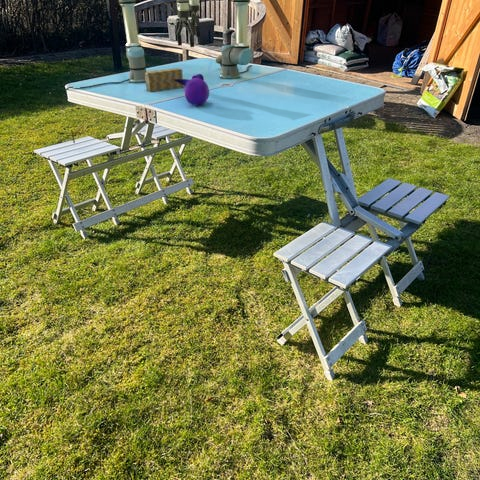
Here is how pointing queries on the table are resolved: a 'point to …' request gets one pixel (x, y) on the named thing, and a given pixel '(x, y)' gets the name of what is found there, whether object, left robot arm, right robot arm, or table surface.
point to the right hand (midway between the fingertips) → (186, 46)
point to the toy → (195, 89)
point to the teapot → (219, 60)
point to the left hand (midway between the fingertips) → (196, 36)
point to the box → (163, 79)
